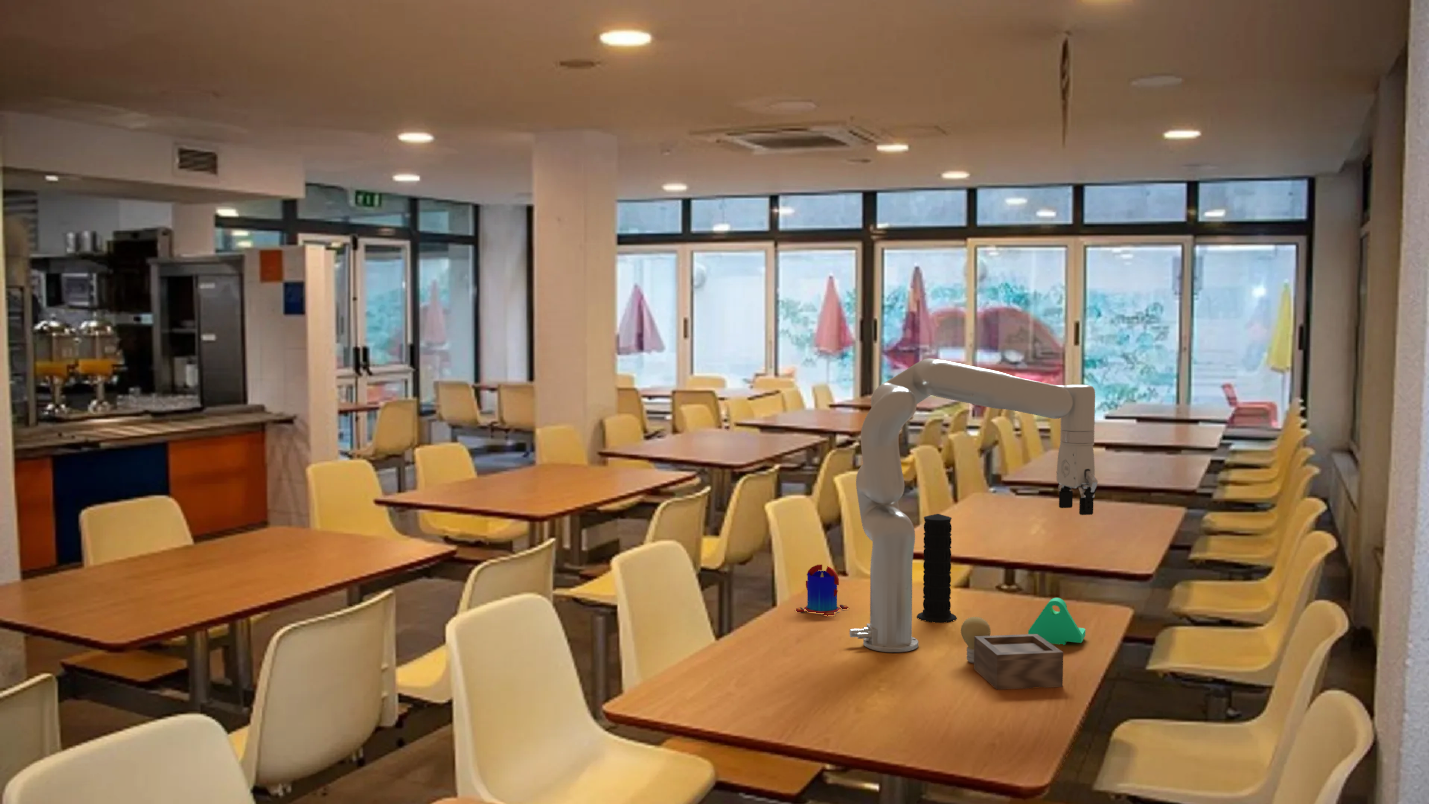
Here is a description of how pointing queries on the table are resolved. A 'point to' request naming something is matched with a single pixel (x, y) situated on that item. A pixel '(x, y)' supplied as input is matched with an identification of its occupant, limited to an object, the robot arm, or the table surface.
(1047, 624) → the camera mount
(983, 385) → the robot arm
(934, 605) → the handle grip
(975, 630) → the light bulb
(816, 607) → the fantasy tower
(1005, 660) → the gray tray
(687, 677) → the table surface
